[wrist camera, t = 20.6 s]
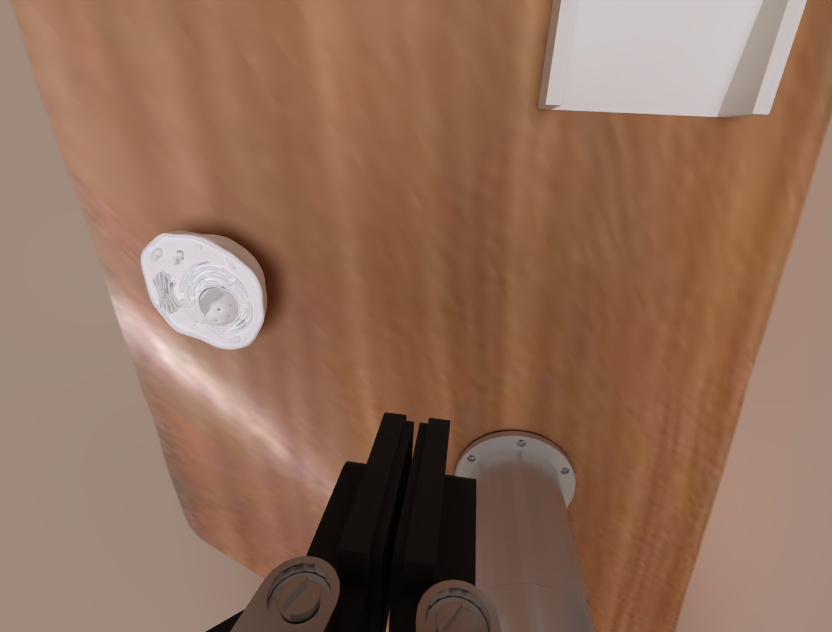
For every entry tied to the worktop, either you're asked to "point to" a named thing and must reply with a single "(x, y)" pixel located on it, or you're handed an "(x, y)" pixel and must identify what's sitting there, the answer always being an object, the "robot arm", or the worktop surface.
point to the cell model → (206, 287)
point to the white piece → (668, 56)
